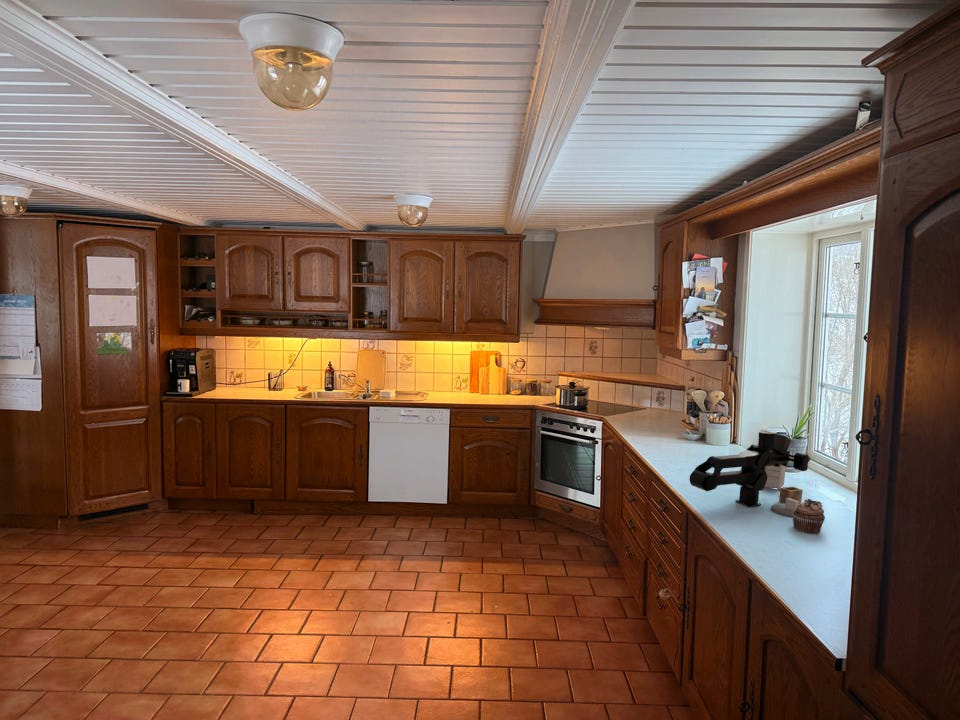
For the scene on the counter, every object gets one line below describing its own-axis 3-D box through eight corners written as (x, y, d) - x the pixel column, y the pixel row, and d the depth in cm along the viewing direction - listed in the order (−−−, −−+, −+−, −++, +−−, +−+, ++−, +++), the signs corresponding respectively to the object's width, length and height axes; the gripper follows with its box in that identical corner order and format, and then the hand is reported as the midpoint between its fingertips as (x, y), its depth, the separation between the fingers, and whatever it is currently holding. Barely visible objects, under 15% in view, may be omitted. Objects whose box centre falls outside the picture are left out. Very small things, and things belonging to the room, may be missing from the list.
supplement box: (765, 483, 273) (768, 453, 272) (784, 487, 269) (787, 456, 268) (759, 486, 268) (763, 455, 267) (779, 490, 263) (782, 459, 262)
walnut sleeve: (789, 504, 245) (790, 491, 244) (778, 500, 249) (780, 487, 248) (801, 502, 248) (802, 489, 247) (791, 499, 252) (792, 486, 251)
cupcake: (794, 522, 224) (797, 494, 223) (826, 530, 217) (829, 501, 216) (787, 529, 216) (790, 499, 215) (819, 537, 210) (822, 507, 209)
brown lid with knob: (794, 519, 227) (796, 507, 226) (763, 508, 238) (764, 495, 238) (819, 516, 232) (820, 503, 232) (787, 504, 244) (789, 492, 244)
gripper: (795, 442, 236) (823, 440, 243) (752, 431, 253) (780, 430, 260) (791, 472, 237) (820, 470, 244) (749, 460, 254) (777, 457, 261)
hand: (799, 455), depth 252 cm, fingers open, 9 cm apart
